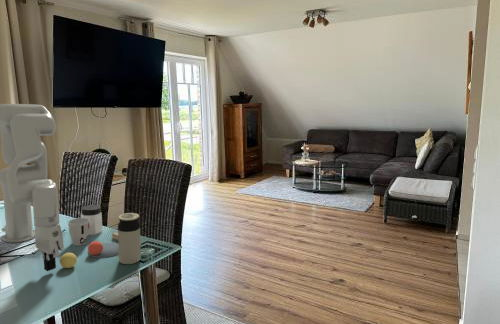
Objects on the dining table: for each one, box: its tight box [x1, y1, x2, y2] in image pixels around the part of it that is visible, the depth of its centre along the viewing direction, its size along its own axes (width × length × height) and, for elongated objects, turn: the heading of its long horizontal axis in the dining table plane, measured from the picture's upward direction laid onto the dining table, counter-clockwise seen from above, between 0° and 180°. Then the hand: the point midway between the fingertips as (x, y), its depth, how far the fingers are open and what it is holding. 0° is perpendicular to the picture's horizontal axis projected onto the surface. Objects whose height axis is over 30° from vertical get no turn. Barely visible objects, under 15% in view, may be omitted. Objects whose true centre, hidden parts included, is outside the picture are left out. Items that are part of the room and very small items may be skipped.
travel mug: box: [117, 212, 142, 265], centre depth 132 cm, size 8×8×18 cm
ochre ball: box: [59, 252, 78, 269], centre depth 126 cm, size 6×6×6 cm
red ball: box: [87, 240, 103, 255], centre depth 137 cm, size 6×6×6 cm
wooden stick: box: [111, 231, 142, 247], centre depth 150 cm, size 2×16×2 cm, turn 59°
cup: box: [67, 217, 89, 247], centre depth 146 cm, size 8×8×10 cm
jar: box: [80, 204, 103, 236], centre depth 159 cm, size 9×8×12 cm
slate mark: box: [87, 242, 119, 259], centre depth 142 cm, size 14×14×1 cm
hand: (50, 269), depth 122 cm, fingers closed
